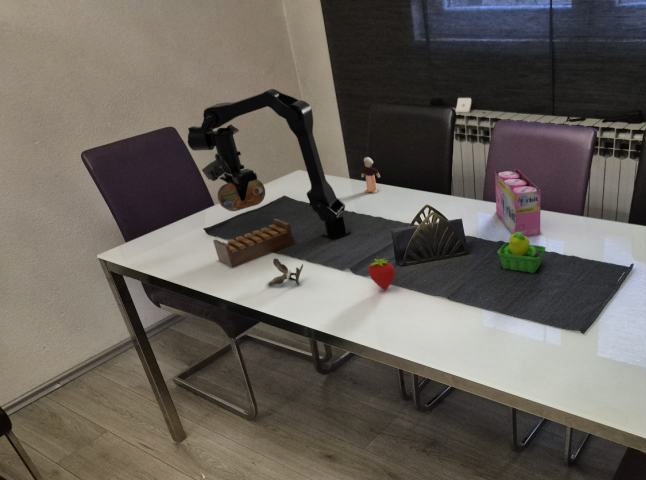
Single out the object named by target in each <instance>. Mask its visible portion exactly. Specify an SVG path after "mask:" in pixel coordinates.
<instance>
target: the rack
mask: <svg viewBox="0 0 646 480" xmlns="http://www.w3.org/2000/svg"><path fill="white" fill-rule="evenodd" d="M272 222H273V224H270V225H268V227H266V226H265V227H262V228H260V230H258V229H256V230H253V231H252V233H250V232H248V233H245V234H244V236H242V235H239V236H236V237H235V239H236V240H235V239H233V238H231V239H228V240H227V243H226V242H225V241H220V240H218V239H213V240H212V242H213V245H214V248H215V251H216V255H217V258H218V261H219V262H221V263H223V264H225V265H226V266H228V267H230V268H232V269H233V268H235V267H237V266H240V265H243V264H245V263H248V262H250V261H254V260H256V259H258V258H261V257H264V256H266V255H270V254H271V253H273V252H276V251H279V250H281V249H284V248H287V247H290V246H291V245H294V244H295V241H294V237H293V233H292V229H291V225H290V223H288V222H286V221H283V220H281V219H278V218H273V219H272Z"/></svg>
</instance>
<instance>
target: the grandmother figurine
mask: <svg viewBox="0 0 646 480" xmlns="http://www.w3.org/2000/svg"><path fill="white" fill-rule="evenodd" d="M363 162H364V167H363V169H362V171H361V175H360V176H361V178H365V183H366V189H365V192H364V193H371V194H376V193H377V192H378V189H377V182H376V181H377V180H376V177H375V176H377V178H378V179H379V178H381V175H380V172H379V171H378V169H376V168H374V167H373V164H374V161H373V159H372V158H370V157H369V156H367V157H364V158H363Z"/></svg>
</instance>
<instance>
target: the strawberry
mask: <svg viewBox="0 0 646 480" xmlns="http://www.w3.org/2000/svg"><path fill="white" fill-rule="evenodd" d="M389 262H390V260H388V259H387V260H386V257H383V258H379V257H377V258H374V262H372V263H369V266H368V274H369V276H370V279H371V280H372V281H373V283H375V284H376V285H377V286H378V287H379V288H380V289H381V290H383V291H387V290H388V288H389V287H390V286H391V284H392V283H393V281H394V280H395V275H396V269H395V267H394V266H393V265H392V264H391V263H389Z"/></svg>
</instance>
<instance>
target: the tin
mask: <svg viewBox="0 0 646 480" xmlns="http://www.w3.org/2000/svg"><path fill="white" fill-rule="evenodd" d="M265 197H266V188H265V186H264V183H262V182H261V181H260V179H258V178H257V179H256V180H253V181H250V182H249V183H248V187H247V192H246V196H245V200H244V201H241V199H240V197H239V195H238V193H237V190H236V188H235V186H234V185H233V184H231V183H228V184H227V183H224V184H222V186H220V187H219V189H218V190H217V201H218V203H219V204H220V206H221V207H222V208H223V209H225V210H227V211H230V212H238V211H241V210H244V209H247V208H251V207H255V206H258V205H260V204H261V203H262V202H263V201H264V199H265Z"/></svg>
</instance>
